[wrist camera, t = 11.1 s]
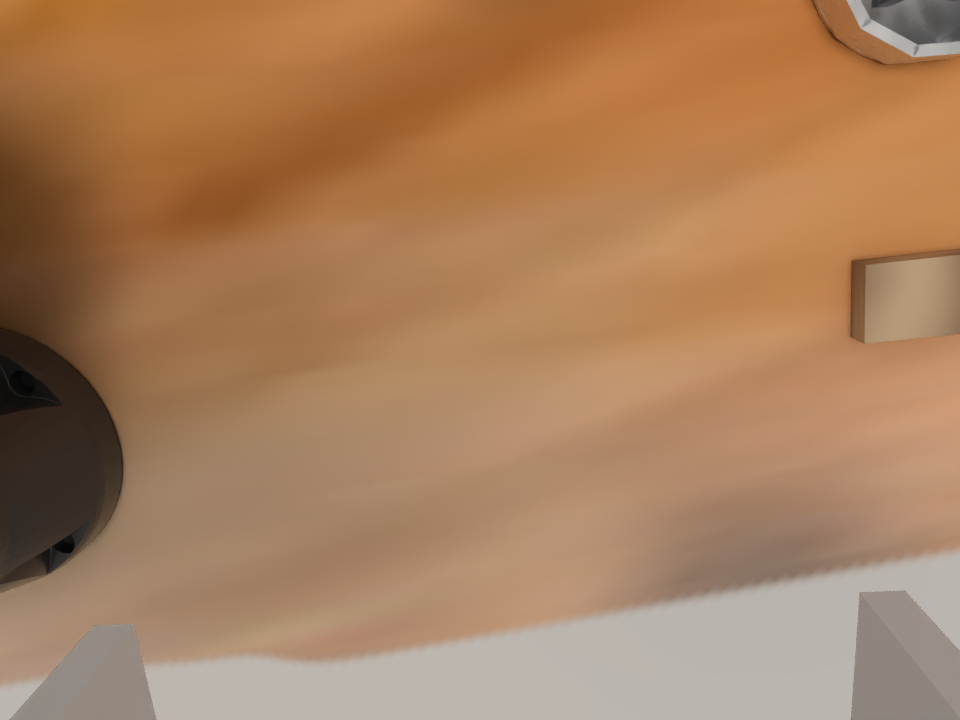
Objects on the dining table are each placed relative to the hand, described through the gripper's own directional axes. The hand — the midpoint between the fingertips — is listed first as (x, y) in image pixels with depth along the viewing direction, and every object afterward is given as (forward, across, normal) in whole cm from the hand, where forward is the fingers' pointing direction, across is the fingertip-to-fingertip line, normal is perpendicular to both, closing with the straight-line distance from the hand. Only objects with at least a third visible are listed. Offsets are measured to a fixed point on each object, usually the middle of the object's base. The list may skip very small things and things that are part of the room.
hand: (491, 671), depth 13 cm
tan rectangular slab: (+27, +24, +1) cm, 36 cm away
